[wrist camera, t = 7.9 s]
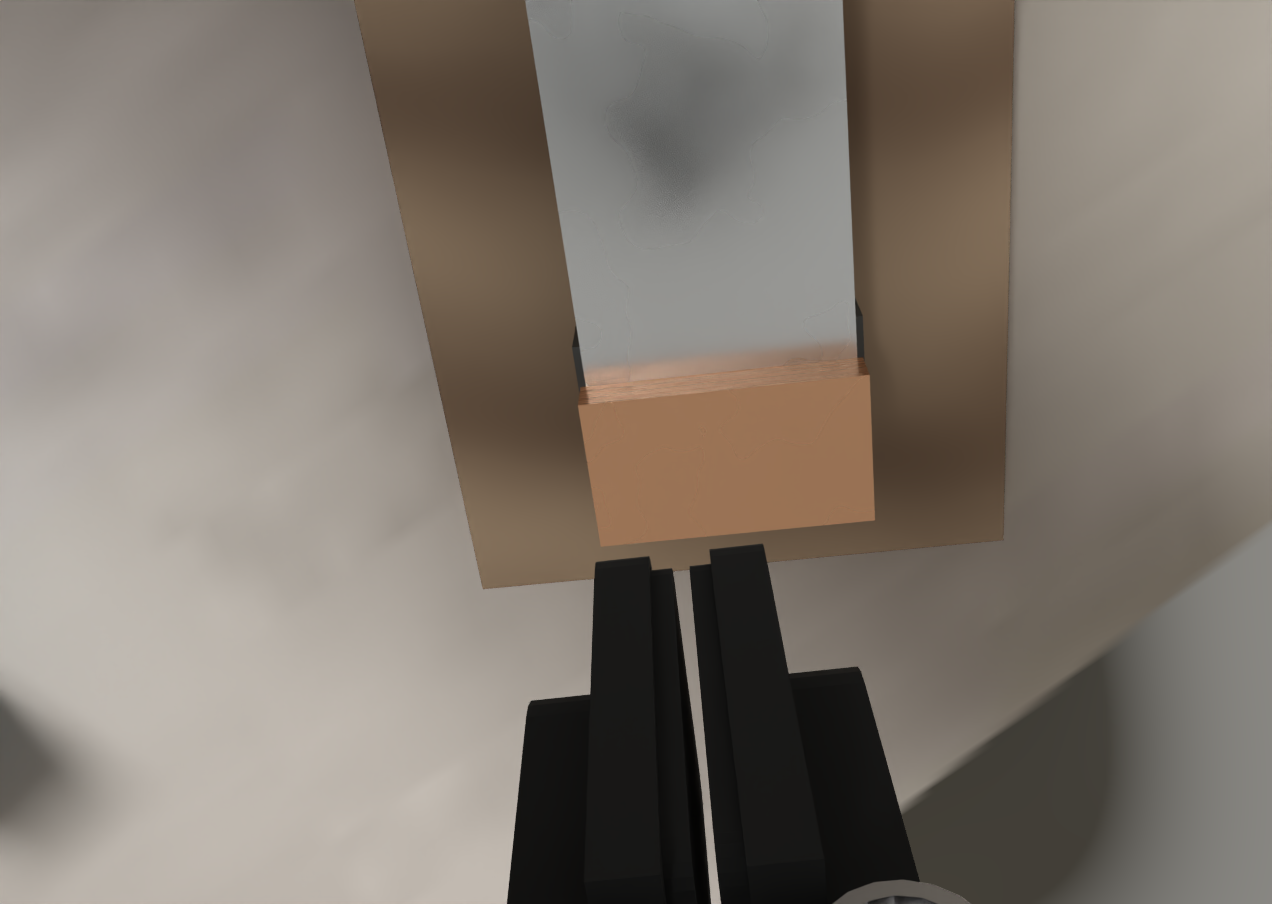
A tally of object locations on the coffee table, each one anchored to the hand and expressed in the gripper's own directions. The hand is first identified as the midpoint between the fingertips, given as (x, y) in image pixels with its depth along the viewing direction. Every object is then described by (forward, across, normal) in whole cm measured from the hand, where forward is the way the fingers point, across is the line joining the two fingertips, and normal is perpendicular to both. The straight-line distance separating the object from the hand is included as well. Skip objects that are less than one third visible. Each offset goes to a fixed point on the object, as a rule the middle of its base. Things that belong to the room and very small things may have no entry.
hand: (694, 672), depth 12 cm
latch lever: (+12, -1, -4) cm, 12 cm away
